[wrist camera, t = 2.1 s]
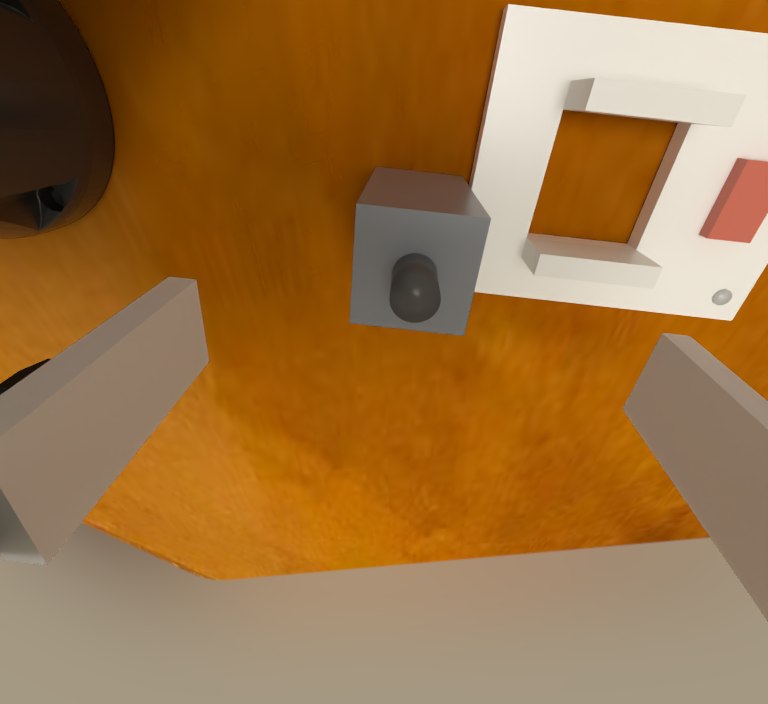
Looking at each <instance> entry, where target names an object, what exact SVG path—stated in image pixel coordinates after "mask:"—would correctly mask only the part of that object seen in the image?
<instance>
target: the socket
mask: <svg viewBox="0 0 768 704" xmlns="http://www.w3.org/2000/svg"><path fill="white" fill-rule="evenodd" d="M563 110H570V111H578V112H587V113H596V114H605V115H614V116H623V117H632V118H640V119H649V120H658V121H667V122H676V123H678V124H677V126H676V129H675V131H674V133H673V136H672V138H671V141H670V143H669V145H668V148H667V150H666V152H665V155H664V157H663V160H662V162H661V164H660V167H659V169H658V171H657V174H656V176H655V179H654V181H653V183H652V186H651V188H650V191H649V193H648V195H647V198H646V200H645V202H644V205H643V207H642V210H641V212H640V214H639V217H638V219H637V221H636V224H635V226H634V229H633V231H632V233H631V236H630V238H629V240H628V243H627V244H625V243H616V242H607V241H598V240H589V239H580V238H571V237H562V236H553V235H544V234H536V233H528V231H529V228H530V224H531V221H532V217H533V214H534V210H535V207H536V203H537V200H538V196H539V193H540V189H541V186H542V182H543V179H544V175H545V172H546V168H547V165H548V161H549V158H550V154H551V151H552V147H553V144H554V140H555V137H556V133H557V130H558V126H559V123H560V119H561V115H562V112H563ZM469 187H470V188H471V190H472V191H473V193H474V194H475V196H476V197H477V199H478V200H479V201H480V203H481V204H482V206H483V207H484V209H485V210H486V212H487V213H488V215H489V216H490V217H491V222H490V226H489V230H488V234H487V239H486V243H485V247H484V252H483V256H482V260H481V265H480V269H479V273H478V278H477V282H476V286H475V291H474V292H479V293H488V294H497V295H506V296H515V297H524V298H533V299H542V300H551V301H560V302H569V303H578V304H587V305H595V306H604V307H613V308H622V309H631V310H640V311H649V312H658V313H667V314H676V315H685V316H694V317H703V318H712V319H721V320H730V321H732V319H733V318H734V316H735V315H736V313H737V311H738V310H739V308H740V307H741V305H742V303H743V302H744V300H745V299H746V297H747V295H748V294H749V292H750V291H751V289H752V287H753V286H754V284H755V283H756V281H757V279H758V278H759V276H760V275H761V273H762V271H763V270H764V268H765V267H766V265H767V263H768V34H767V33H758V32H750V31H741V30H732V29H723V28H714V27H706V26H697V25H688V24H679V23H670V22H662V21H653V20H644V19H635V18H626V17H618V16H609V15H600V14H591V13H582V12H574V11H565V10H556V9H547V8H538V7H529V6H521V5H512V4H508V5H507V6H506V7H505V8H504V9H503V14H502V19H501V24H500V29H499V34H498V39H497V45H496V50H495V55H494V60H493V65H492V70H491V75H490V81H489V86H488V91H487V96H486V101H485V106H484V111H483V116H482V122H481V127H480V132H479V137H478V142H477V147H476V152H475V157H474V163H473V168H472V173H471V178H470V183H469Z"/></svg>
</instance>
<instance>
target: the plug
mask: <svg viewBox="0 0 768 704" xmlns="http://www.w3.org/2000/svg"><path fill="white" fill-rule="evenodd" d="M490 222H491V217H490V216H489V215H488V213H487V212H486V210H485V209H484V207H483V206H482V204H481V203H480V201H479V200H478V199H477V197H476V196H475V194H474V193H473V191H472V190H471V188H470V187H469V185H468V184H467V183H466V181H465V180H464V178H463V177H462V176H457V175H448V174H440V173H431V172H422V171H413V170H404V169H395V168H386V167H377V166H376V167H375V169H374V171H373V173H372V175H371V177H370V179H369V180H368V182H367V184H366V186H365V188H364V190H363V192H362V194H361V195H360V197H359V199H358V201H357V203H356V216H355V234H354V252H353V269H352V287H351V305H350V322H349V323H353V324H362V325H371V326H380V327H389V328H398V329H407V330H416V331H425V332H434V333H443V334H452V335H461V336H464V334H465V330H466V325H467V321H468V317H469V312H470V308H471V304H472V299H473V295H474V291H475V286H476V282H477V278H478V273H479V269H480V265H481V260H482V256H483V252H484V247H485V243H486V239H487V234H488V230H489V226H490Z"/></svg>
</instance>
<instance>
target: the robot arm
mask: <svg viewBox="0 0 768 704" xmlns="http://www.w3.org/2000/svg"><path fill="white" fill-rule="evenodd" d="M113 151H114V140H113V127H112V120H111V114H110V109H109V105H108V101H107V97H106V94H105V91H104V87H103V84H102V81H101V79H100V76H99V74H98V71H97V69H96V66H95V64H94V62H93V59H92V57H91V55H90V53H89V51H88V49H87V47H86V45H85V43H84V42H83V40H82V38H81V36H80V34H79V33H78V31H77V29H76V28H75V26H74V25H73V23H72V21H71V20H70V18H69V17H68V15H67V14H66V12H65V11H64V10H63V8H62V7H61V5H60V4H59V3H58V1H57V0H0V238H4V239H12V238H23V237H29V236H35V235H39V234H42V233H45V232H48V231H51V230H54V229H57V228H59V227H62V226H65V225H67V224H70V223H72V222H74V221H76V220H78V219H80V218H81V217H83V216H84V215H85V214H86V213H88V212H89V211H90V210H91V209H92V208H93V207H94V206H95V204H96V203H97V202H98V200H99V199H100V197H101V196H102V194H103V192H104V190H105V188H106V185H107V183H108V180H109V177H110V173H111V168H112V162H113ZM208 362H209V356H208V350H207V344H206V337H205V331H204V325H203V318H202V312H201V306H200V300H199V293H198V287H197V281H196V279H187V278H178V277H170V276H169V277H168V278H166V279H165V280H163V281H162V282H161V283H159V284H158V285H156V286H155V287H154V288H152V289H151V290H149V291H148V292H146V293H145V294H144V295H142V296H141V297H139V298H138V299H136V300H135V301H134V302H132V303H131V304H129V305H128V306H126V307H125V308H124V309H122V310H121V311H119V312H118V313H116V314H115V315H114V316H112V317H111V318H109V319H108V320H107V321H105V322H104V323H102V324H101V325H99V326H98V327H97V328H95V329H94V330H92V331H91V332H89V333H88V334H87V335H85V336H84V337H82V338H81V339H79V340H78V341H77V342H75V343H74V344H72V345H71V346H69V347H68V348H67V349H65V350H64V351H62V352H61V353H60V354H58V355H57V356H55V357H54V358H52V359H46V360H44V361H42V362H39V363H37V364H35V365H32V366H30V367H27V368H25V369H23V370H20V371H18V372H17V373H16V374H14V375H13V376H11V377H10V378H8V379H7V380H5V381H4V382H2V383H1V384H0V555H1V557H2V558H3V559H4V560H7V561H16V562H25V563H33V564H42V565H48V563H49V562H50V561H51V560H52V558H53V557H54V556H55V554H56V553H57V552H58V551H59V549H60V548H61V547H62V546H63V545H64V543H65V542H66V540H67V539H68V538H69V537H70V536H71V534H72V533H73V532H74V531H75V529H76V528H77V527H78V526H79V524H80V523H81V522H82V521H83V519H84V518H85V517H86V516H87V514H88V513H89V512H90V511H91V509H92V508H93V507H94V506H95V504H96V503H97V502H98V501H99V499H100V498H101V497H102V496H103V494H104V493H105V492H106V491H107V489H108V488H109V487H110V486H111V484H112V483H113V482H114V480H115V479H116V478H117V477H118V475H119V474H120V473H121V472H122V470H123V469H124V468H125V467H126V465H127V464H128V463H129V462H130V460H131V459H132V458H133V457H134V455H135V454H136V453H137V452H138V450H139V449H140V448H141V447H142V445H143V444H144V443H145V442H146V440H147V439H148V438H149V437H150V435H151V434H152V433H153V432H154V430H155V429H156V428H157V427H158V425H159V424H160V423H161V421H162V420H163V419H164V418H165V416H166V415H167V414H168V413H169V411H170V410H171V409H172V408H173V406H174V405H175V404H176V403H177V401H178V400H179V399H180V398H181V396H182V395H183V394H184V393H185V391H186V390H187V389H188V388H189V386H190V385H191V384H192V383H193V381H194V380H195V379H196V378H197V376H198V375H199V374H200V373H201V371H202V370H203V369H204V368H205V366H206V365H207V364H208ZM623 411H624V412H625V414H626V415H627V417H628V418H629V419H630V421H631V422H632V424H633V425H634V427H635V428H636V430H637V431H638V433H639V434H640V435H641V437H642V438H643V440H644V441H645V443H646V444H647V446H648V447H649V449H650V450H651V452H652V453H653V454H654V456H655V457H656V459H657V460H658V462H659V463H660V465H661V466H662V468H663V469H664V471H665V472H666V473H667V475H668V476H669V478H670V479H671V481H672V482H673V484H674V485H675V487H676V488H677V489H678V491H679V492H680V494H681V495H682V497H683V498H684V500H685V501H686V503H687V504H688V506H689V507H690V508H691V510H692V511H693V513H694V514H695V516H696V517H697V519H698V520H699V522H700V523H701V525H702V526H703V527H704V529H705V530H706V532H707V533H708V535H709V536H710V538H711V539H712V541H713V542H714V543H715V545H716V546H717V548H718V549H719V551H720V552H721V553H722V555H723V557H724V558H725V559H726V561H727V562H728V564H729V565H730V567H731V568H732V570H733V571H734V573H735V574H736V576H737V577H738V578H739V580H740V581H741V583H742V584H743V586H744V587H745V588H746V590H747V592H748V593H749V594H750V596H751V597H752V599H753V600H754V602H755V603H756V605H757V606H758V608H759V609H760V611H761V612H762V614H763V615H764V616H765V618H766V619H767V621H768V401H767V400H765V399H764V398H763V397H762V396H761V395H759V394H758V393H757V392H756V391H755V390H753V389H752V388H751V387H750V386H749V385H748V384H746V383H745V382H744V381H743V380H742V379H740V378H739V377H738V376H737V375H736V374H734V373H733V372H732V371H731V370H730V369H728V368H727V367H726V366H725V365H724V364H722V363H721V362H720V361H719V360H718V359H717V358H715V357H714V356H713V355H712V354H711V353H709V352H708V351H707V350H706V349H705V348H703V347H702V346H701V345H700V344H699V343H697V342H696V341H695V340H694V339H693V338H691V337H690V336H685V335H676V334H668V333H662V335H661V336H660V338H659V340H658V342H657V344H656V346H655V348H654V350H653V352H652V354H651V356H650V357H649V359H648V361H647V363H646V365H645V367H644V369H643V371H642V373H641V375H640V376H639V378H638V380H637V382H636V384H635V386H634V388H633V390H632V392H631V394H630V395H629V397H628V399H627V401H626V403H625V405H624V407H623Z"/></svg>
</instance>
